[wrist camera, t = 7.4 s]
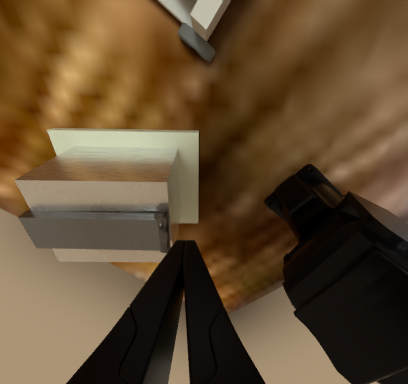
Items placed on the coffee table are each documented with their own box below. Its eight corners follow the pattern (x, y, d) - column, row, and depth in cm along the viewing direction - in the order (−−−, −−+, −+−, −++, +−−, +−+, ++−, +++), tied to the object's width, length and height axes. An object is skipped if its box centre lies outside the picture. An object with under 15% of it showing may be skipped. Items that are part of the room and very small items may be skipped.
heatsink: (177, 148, 19) (166, 182, 13) (181, 213, 23) (173, 262, 17) (65, 146, 19) (2, 179, 13) (89, 212, 23) (49, 261, 17)
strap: (168, 210, 14) (166, 218, 13) (171, 244, 16) (169, 253, 15) (26, 207, 14) (16, 215, 13) (45, 241, 16) (37, 250, 15)
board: (198, 130, 19) (198, 132, 18) (198, 219, 25) (198, 223, 24) (52, 127, 19) (47, 130, 18) (86, 218, 24) (83, 222, 24)
